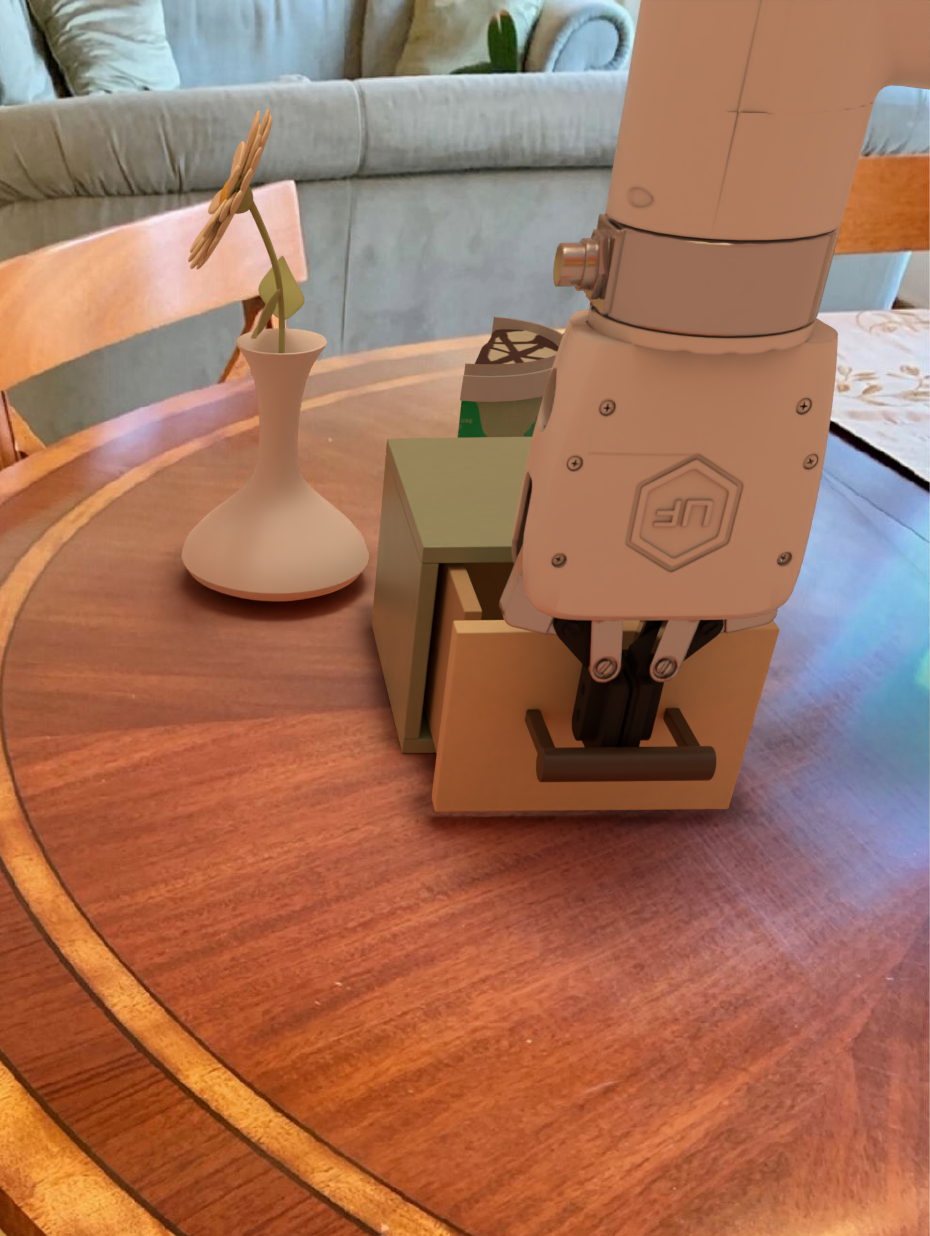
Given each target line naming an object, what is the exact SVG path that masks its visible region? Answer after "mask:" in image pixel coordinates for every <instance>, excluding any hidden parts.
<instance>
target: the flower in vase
mask: <svg viewBox="0 0 930 1236" xmlns="http://www.w3.org/2000/svg"><path fill="white" fill-rule="evenodd" d="M272 125H273V116H272V114H271V109H270V108H267V109H266V111H265V113H264V115H263V118H262V121H261V111H260V110H257V112H256V113H255V115H254V116H253V120H252V123H251V126H250V127H249V132H248V134H247V137H246V142H245V141H244V140H241V141H240V142H239V144H238V146H237V148H236V150H235V152H234V155H233V159H232V163H231V170H230V175H229V178H228V180H226V181H225V184H224V185H223V187H222V188H221V189H220V190H219V191H218V192H217V193H215V195H213V197H212V199H211V201H210V204H209V206H208V209H207V213H208V214H209V215H212V216H211V217H210V219H208V221H207V222H206V223H205V225H204V226H203V228H202V229H201V231H200V232H199V233H198V235H197V236H196V238H195V239H194V241H193V242H192V245H191V247H190V250H189V253H190V255H189V257H188V259H187V262H188V263H190V266H189V268H190V269H191V270H194V269H195V268H196V270H199V269H201V268H202V267H203V266H204V265H205V264H206V263H207V262H208V260H209V259H210V257H211V256H212V255H213V253H214V252H215V250H216V248H217V247H218V245H219V243H220V242H221V240H222V238H223V236H224V235H225V234H226V231H227V229H228V227H229V225H230V224H231V222H232V220H233V218H234V216H235V215H239V214H245V213H247V212H248V211H249V212H250V213H251V216H252V218H253V221H254V223H255V224H256V228H257V229H258V232H259V235H260V237H261V239H262V242H263V244H264V246H265V249H266V252H267V255H268V258H269V261H270V264H271V267H270V269H269V270H267V272H266V274H265V275H264V276H263V278H262V279H261V281H260V282H259V285H258V288H257V291H258V294H259V295H258V296H259V297H260V298H261V300H262V301H263V303H264V304H265V305H264V307H263V309H262V311H261V313H260V316H259V319H258V321H257V324H256V327H255V328H254V330H252V331H249V332H246V333H243V334H242V335H240V336H238V337H237V339H236V340H235V344H236V346H237V348H238V350H239V351H240V352H241V354H242V356H243V357H244V359H245V361H246V363H247V365H248V367H249V369H250V372H251V375H252V379H253V382H254V387H255V393H256V398H257V410H258V420H259V421H258V424H259V425H258V429H259V431H258V433H259V436H258V437H259V438H258V439H259V440H258V453H257V454H258V455H257V458H256V463H255V468H254V470H253V471H252V475H251V477H250V478H249V479H248V480H247V482H246V483H245V484H244V485H242V486H241V487H240V488H239V489H238V490H237V491H235V492H234V493H233V494H232V495H231V496H229V497H228V498H226V499H225V500H223V501H222V502H221V503H220V504H219V505H217V506H216V507H215V508H214V509H212V510H211V511H210V512H208V513H207V514H206V515H205V516H204V517H203V518H202V519H201V520H200V521H199V522H198V523H197V524H196V525H195V526H194V527H193V528H192V529H191V530H190V531H189V533H188V534H187V536H186V538H185V541H184V544H183V547H182V550H181V556H180V557H181V561H182V563H183V565H184V566H185V568H186V569H187V571H188V573H189V574H190V575H191V577H192V578H194V580H196V581H197V582H198V583H200V584H201V585H202V586H205V587H206V588H208V589H210V590H213V591H215V592H218V593H221V594H225V595H227V596H232V597H235V598H240V599H244V600H250V601H251V600H252V601H259V602H292V601H300V600H305V599H311V598H317V597H321V596H324V595H329V594H331V593H334V592H336V591H339V590H341V589H343V588H346V587H347V586H349V585H350V584H352V583H353V582H354V581H356V580H357V579H358V578H359V576H360V575H361V574H362V572H363V571H364V570H365V568H366V567H367V565H368V563H369V560H370V553H369V550H368V547H367V543H366V539H365V537H364V535H363V534H362V533H361V531H360V530H359V529H358V528H357V527H356V526H355V524H354V523H353V522H352V521H351V520H350V519H349V518H348V517H347V516H346V515H345V514H344V513H343V512H341V511H340V510H339V508H337V507H335V506H334V505H333V504H332V503H331V502H329V501H328V500H327V499H326V498H325V497H323V496H322V495H321V494H319V492H318V491H316V490H315V489H314V488H313V487H312V486H311V485H310V484H309V483H308V481H307V480H306V479H305V478H304V476H303V473H302V471H301V468H300V463H299V451H298V450H299V449H298V447H299V446H298V445H299V444H298V443H299V441H298V440H299V439H298V437H299V424H300V415H301V408H302V403H303V402H302V401H303V395H304V392H305V389H306V385H307V381H308V378H309V375H310V374H311V370H312V368H313V366H314V365H315V362H316V361H317V359H318V358H319V356H320V355H321V353H323V351H324V349H325V348H326V346H327V344H328V339H326V337H325V336H323V335H322V334H319V333H317V332H314V331H310V330H306V329H300V328H287V327H286V320H288V319H290V318H292V317H293V316H294V315H295V314H296V313H297V312H298V311H299V310H300V309H302V307H303V306H304V304H305V296H304V293H303V291H302V289H301V288H300V286H299V283H298V282H297V281H296V278H295V277H294V275H293V273H292V271H291V269H290V266H289V264H288V263H287V260H286V258H285V256H284V255H281V256H280V257H279V258H278V257H277V253H276V251H275V248H274V245H273V242H272V239H271V237H270V235H269V231H268V230H267V227H266V225H265V223H264V220H263V218H262V216H261V212H260V211H259V208H258V206H257V205H256V203H255V201H254V193H253V190H252V188H251V186H250V184H251V182H252V180H253V178H254V175H255V173H256V171H257V168H258V166H259V164H260V161H261V158H262V156H263V153H264V150H265V147H266V144H267V142H268V139H269V136H270V133H271V129H272ZM272 316H274V317H276V318H278V327H277V328H266V326H267V325H268V323H269V321H270V320H271V318H272Z"/></svg>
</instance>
